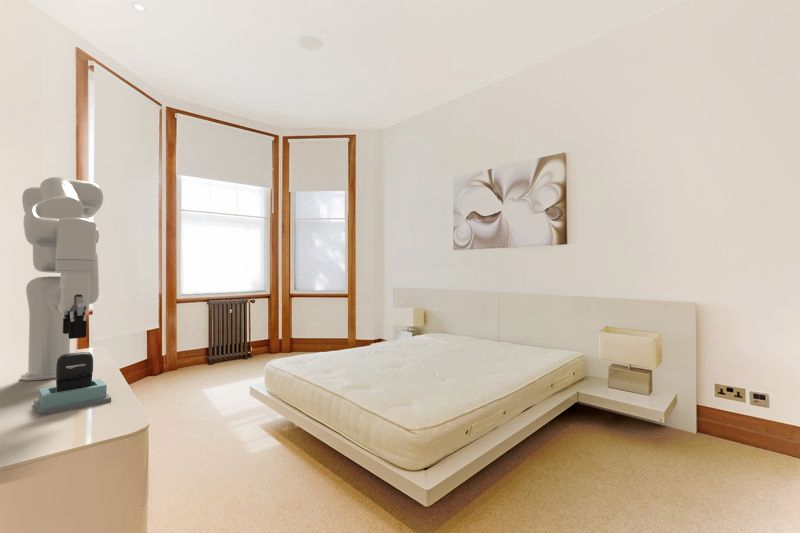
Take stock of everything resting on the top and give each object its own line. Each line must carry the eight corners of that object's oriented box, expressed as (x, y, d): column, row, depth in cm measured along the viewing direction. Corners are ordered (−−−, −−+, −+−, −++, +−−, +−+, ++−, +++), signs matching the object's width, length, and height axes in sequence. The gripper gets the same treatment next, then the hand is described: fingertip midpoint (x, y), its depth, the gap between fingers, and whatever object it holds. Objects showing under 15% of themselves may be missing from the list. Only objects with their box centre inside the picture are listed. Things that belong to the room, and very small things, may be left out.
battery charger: (55, 404, 87) (56, 356, 87) (54, 401, 90) (55, 354, 90) (93, 397, 92) (94, 352, 92) (91, 394, 95) (92, 350, 95)
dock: (34, 404, 90) (34, 388, 90) (101, 391, 100) (101, 377, 100) (38, 416, 82) (39, 398, 82) (111, 401, 92) (111, 385, 92)
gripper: (51, 267, 95) (49, 333, 95) (60, 267, 83) (58, 342, 83) (89, 267, 100) (87, 329, 100) (102, 267, 89) (100, 338, 89)
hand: (74, 335), depth 92 cm, fingers open, 9 cm apart
